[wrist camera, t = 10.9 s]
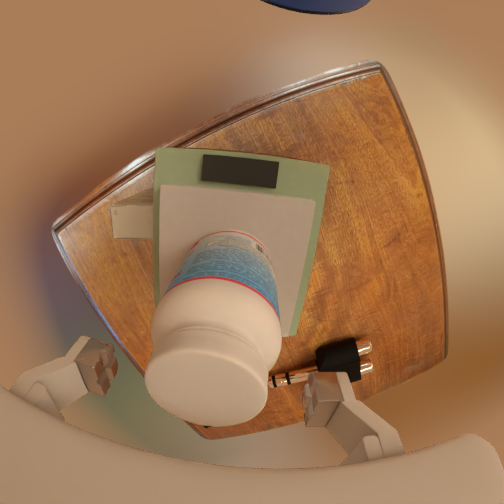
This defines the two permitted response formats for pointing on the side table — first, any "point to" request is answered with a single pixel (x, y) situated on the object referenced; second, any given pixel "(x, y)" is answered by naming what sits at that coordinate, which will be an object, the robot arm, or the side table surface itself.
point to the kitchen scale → (239, 213)
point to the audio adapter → (332, 363)
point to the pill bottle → (216, 332)
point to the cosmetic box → (133, 217)
